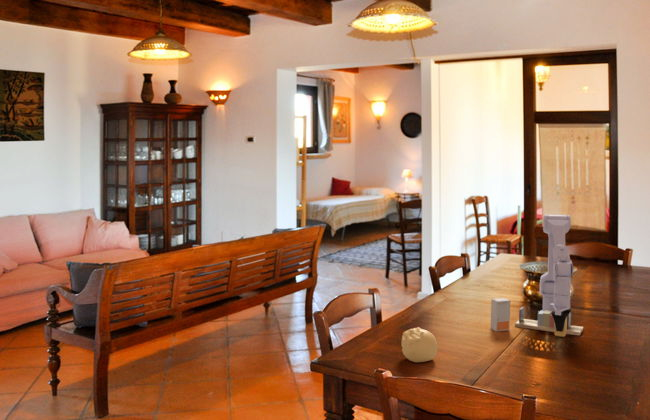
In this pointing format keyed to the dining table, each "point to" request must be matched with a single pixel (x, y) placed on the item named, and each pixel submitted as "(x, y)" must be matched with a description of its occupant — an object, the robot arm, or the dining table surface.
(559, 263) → the robot arm
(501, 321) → the skincare box
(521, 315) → the bookends
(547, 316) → the books
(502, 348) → the dining table surface
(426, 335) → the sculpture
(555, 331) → the tan rectangular block
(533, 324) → the shelf board
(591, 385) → the dining table surface
